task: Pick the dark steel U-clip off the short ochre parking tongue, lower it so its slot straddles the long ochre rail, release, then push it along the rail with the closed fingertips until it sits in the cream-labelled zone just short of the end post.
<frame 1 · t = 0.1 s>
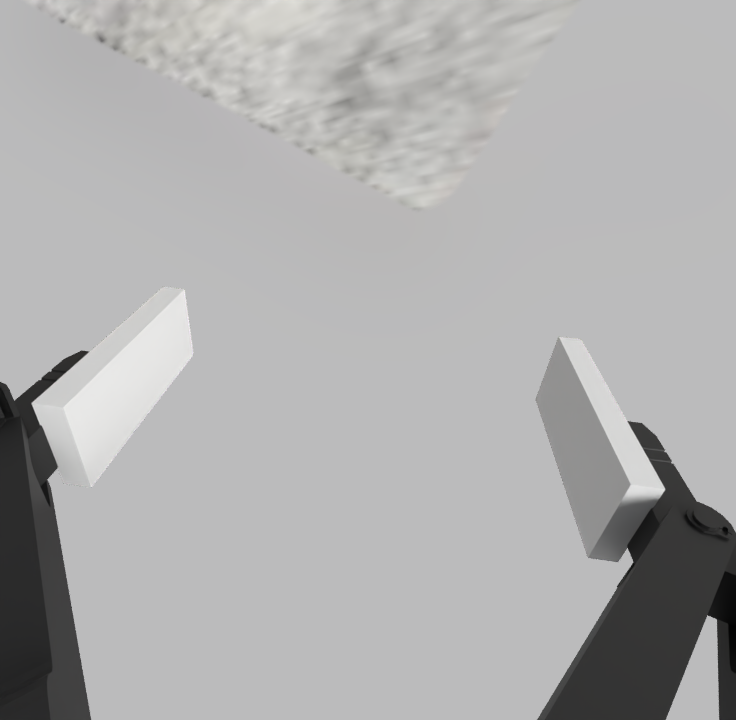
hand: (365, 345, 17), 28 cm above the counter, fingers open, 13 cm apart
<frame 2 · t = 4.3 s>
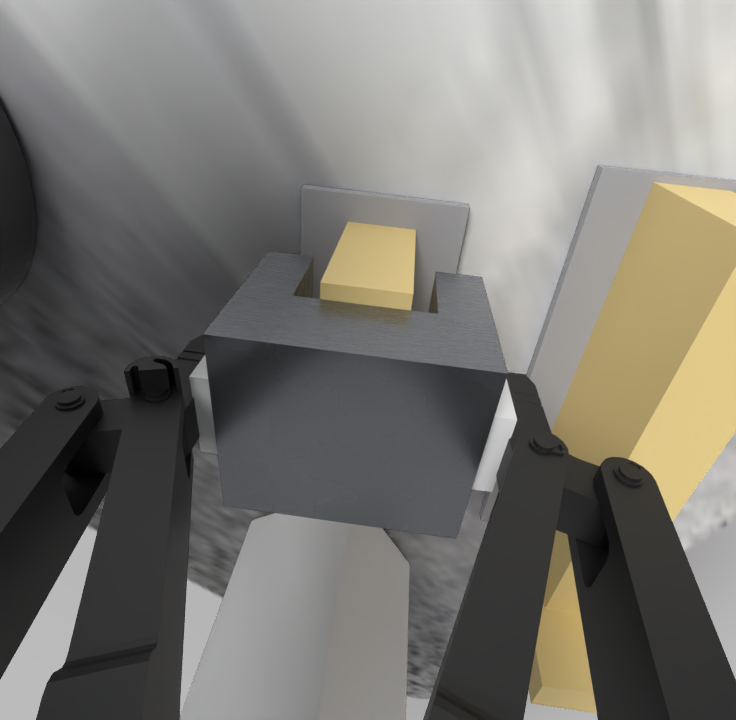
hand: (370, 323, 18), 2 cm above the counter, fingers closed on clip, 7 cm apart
stub: (373, 305, 19), on the counter
milk carton: (332, 536, 28), on the counter
rail: (590, 394, 21), on the counter
clip: (366, 342, 17), point 3 cm above the counter, touching gripper, stub
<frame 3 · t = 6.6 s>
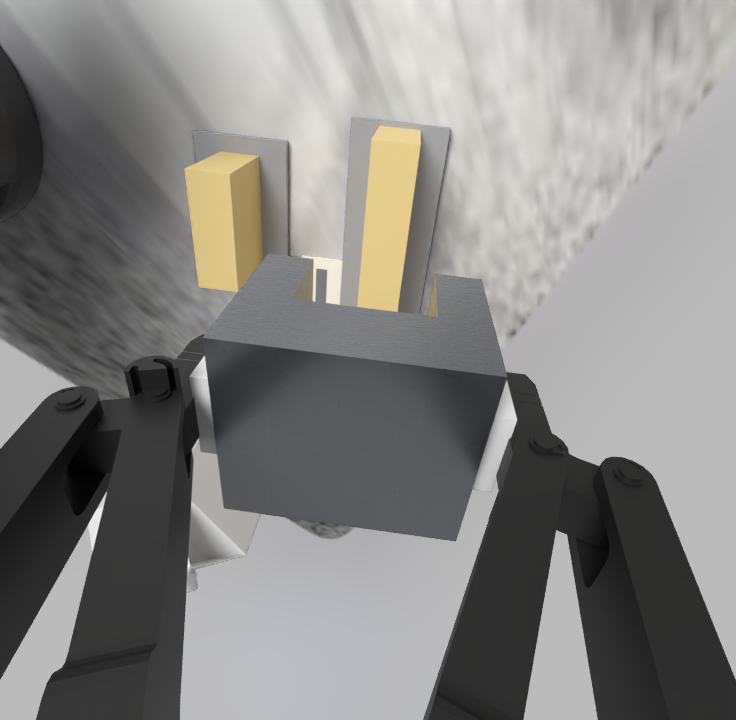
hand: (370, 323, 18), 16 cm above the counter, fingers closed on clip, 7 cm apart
stub: (245, 206, 32), on the counter
milk carton: (245, 387, 41), on the counter
rail: (384, 265, 33), on the counter
label: (321, 295, 35), on the counter
clip: (366, 344, 17), point 17 cm above the counter, touching gripper
when the fingers open (3 cm above the counter, at t = 9.2 s): clip drops 2 cm, resting on rail.
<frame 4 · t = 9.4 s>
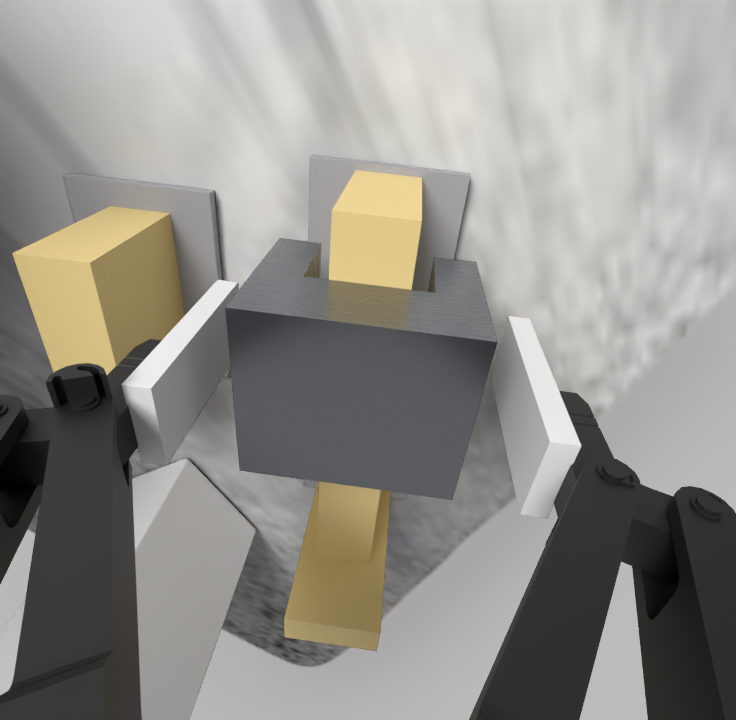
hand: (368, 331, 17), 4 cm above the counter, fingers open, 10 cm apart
stub: (159, 283, 21), on the counter
milk carton: (184, 504, 30), on the counter
rail: (368, 364, 23), on the counter
clip: (369, 324, 18), point 3 cm above the counter, touching rail
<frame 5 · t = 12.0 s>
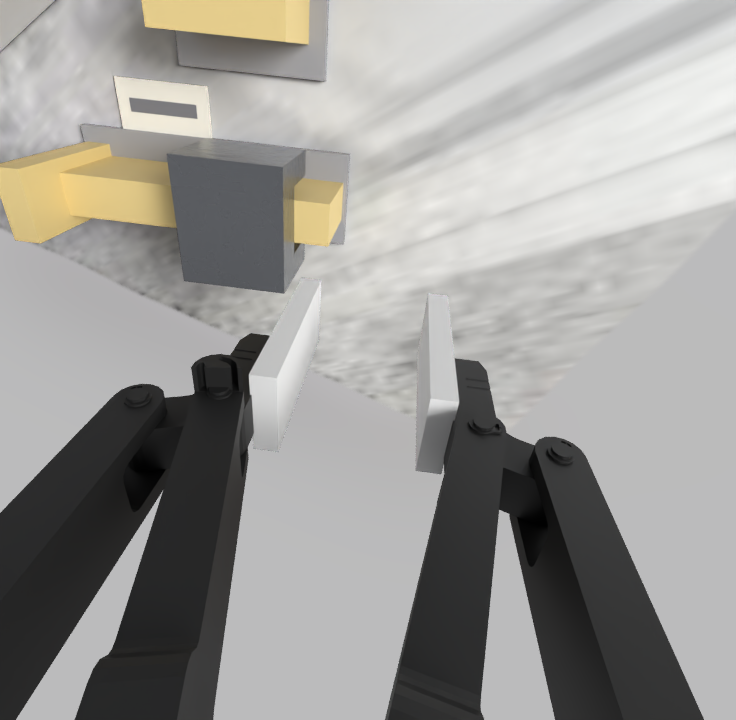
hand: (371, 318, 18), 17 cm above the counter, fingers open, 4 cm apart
stub: (251, 12, 27), on the counter
rail: (216, 184, 33), on the counter
label: (165, 107, 30), on the counter
clip: (259, 202, 30), point 3 cm above the counter, touching rail
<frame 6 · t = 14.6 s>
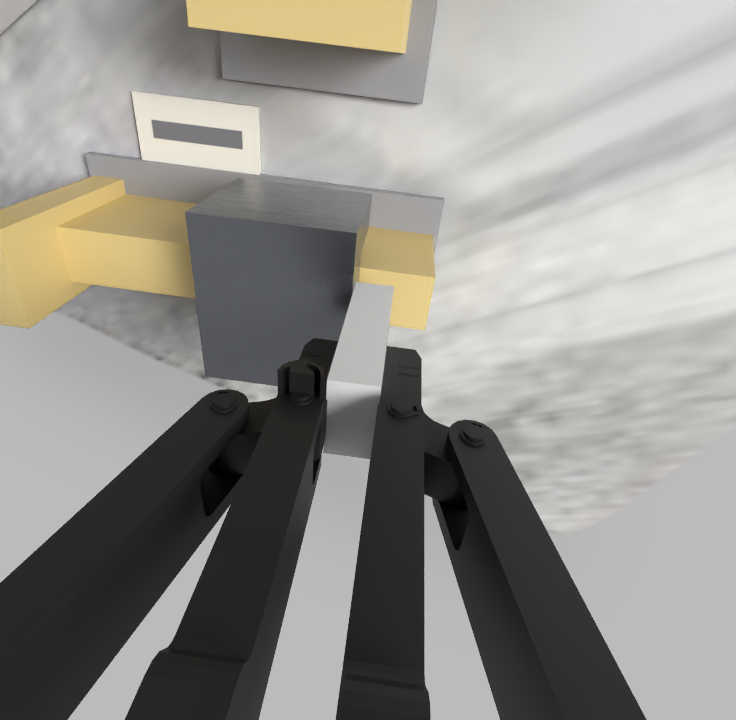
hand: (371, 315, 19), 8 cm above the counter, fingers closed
stub: (327, 8, 19), on the counter
rail: (262, 232, 25), on the counter
label: (199, 133, 23), on the counter
clip: (303, 260, 22), point 3 cm above the counter, touching rail
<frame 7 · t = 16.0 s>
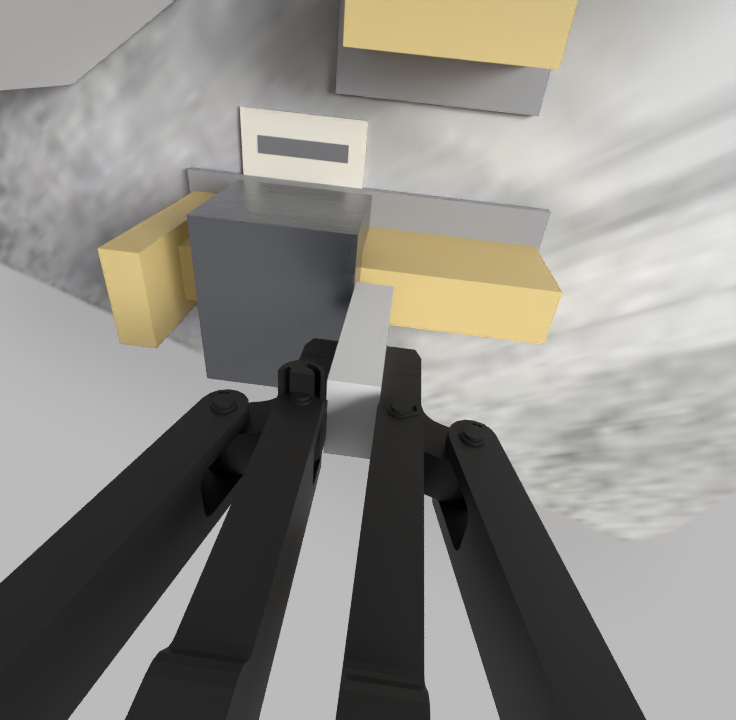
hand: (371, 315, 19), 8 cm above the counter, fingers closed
stub: (448, 21, 19), on the counter
rail: (358, 245, 25), on the counter
label: (303, 148, 23), on the counter
clip: (304, 262, 23), point 3 cm above the counter, touching gripper, rail
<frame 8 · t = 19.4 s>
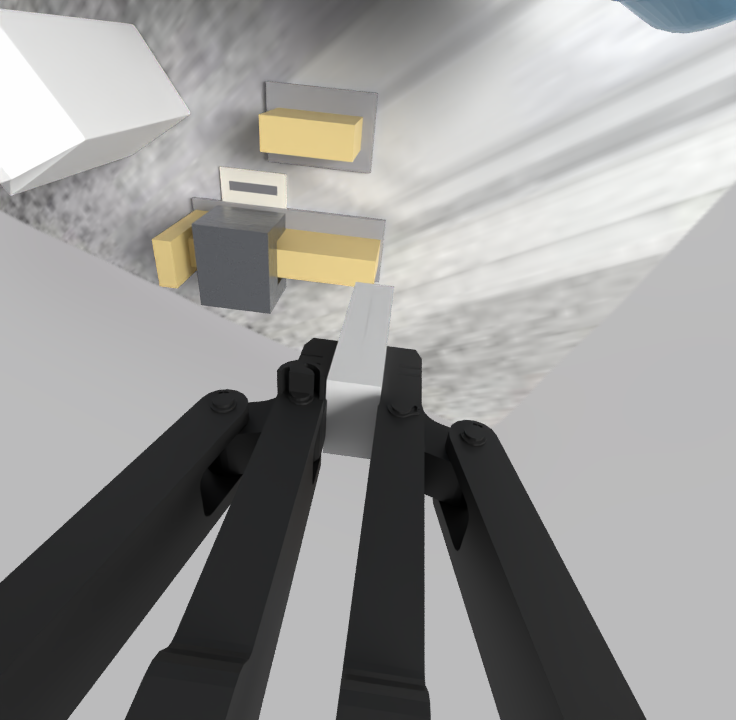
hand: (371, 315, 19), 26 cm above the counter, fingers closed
stub: (321, 128, 39), on the counter
milk carton: (135, 93, 39), on the counter
rail: (286, 239, 45), on the counter
label: (254, 187, 42), on the counter
clip: (253, 247, 42), point 3 cm above the counter, touching rail
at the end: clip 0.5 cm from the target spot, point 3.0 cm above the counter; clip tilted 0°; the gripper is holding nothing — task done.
